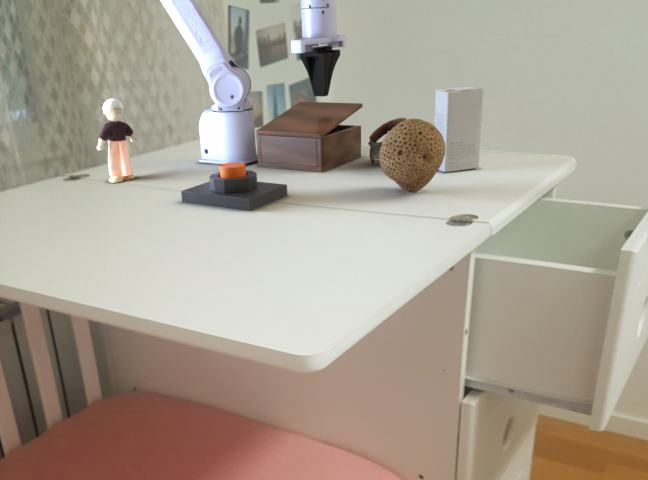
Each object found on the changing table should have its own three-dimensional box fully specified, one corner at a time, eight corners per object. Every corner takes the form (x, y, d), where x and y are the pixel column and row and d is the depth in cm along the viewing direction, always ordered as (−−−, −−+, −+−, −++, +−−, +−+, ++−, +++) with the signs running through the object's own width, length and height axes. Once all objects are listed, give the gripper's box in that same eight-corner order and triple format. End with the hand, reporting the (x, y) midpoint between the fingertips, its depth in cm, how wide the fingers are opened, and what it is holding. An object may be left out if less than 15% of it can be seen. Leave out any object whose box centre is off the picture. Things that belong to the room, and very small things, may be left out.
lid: (300, 104, 128) (300, 101, 128) (362, 106, 122) (362, 103, 122) (256, 134, 119) (255, 130, 119) (321, 138, 113) (320, 134, 112)
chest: (300, 152, 132) (299, 122, 129) (361, 156, 125) (361, 125, 123) (258, 166, 122) (256, 134, 119) (321, 172, 115) (320, 138, 113)
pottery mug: (438, 171, 114) (417, 128, 109) (384, 197, 117) (361, 156, 113) (430, 139, 123) (410, 98, 118) (381, 164, 126) (359, 125, 122)
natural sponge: (434, 202, 95) (437, 124, 90) (370, 198, 98) (370, 123, 94) (448, 186, 102) (452, 114, 98) (388, 183, 105) (389, 113, 101)
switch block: (182, 202, 101) (179, 178, 99) (221, 189, 108) (219, 165, 106) (250, 211, 95) (248, 185, 93) (287, 196, 101) (286, 171, 100)
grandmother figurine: (117, 184, 114) (105, 101, 108) (98, 183, 115) (86, 101, 110) (147, 174, 120) (137, 95, 114) (129, 173, 121) (118, 95, 116)
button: (215, 179, 99) (214, 166, 99) (230, 173, 102) (229, 161, 101) (235, 181, 98) (234, 168, 97) (251, 175, 100) (250, 163, 100)
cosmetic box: (465, 164, 115) (470, 85, 110) (479, 169, 112) (485, 87, 106) (430, 168, 114) (434, 88, 109) (444, 173, 110) (448, 90, 105)
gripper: (317, 8, 109) (319, 101, 114) (361, 5, 119) (361, 91, 125) (278, 10, 112) (282, 101, 118) (324, 7, 123) (326, 90, 129)
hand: (321, 95), depth 122 cm, fingers closed
